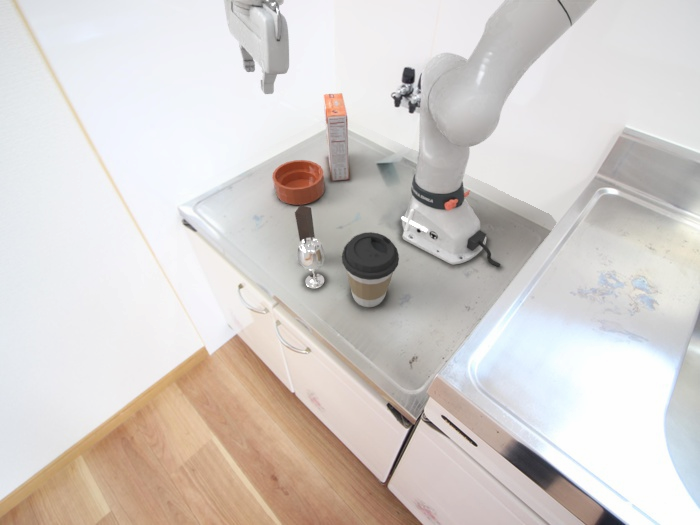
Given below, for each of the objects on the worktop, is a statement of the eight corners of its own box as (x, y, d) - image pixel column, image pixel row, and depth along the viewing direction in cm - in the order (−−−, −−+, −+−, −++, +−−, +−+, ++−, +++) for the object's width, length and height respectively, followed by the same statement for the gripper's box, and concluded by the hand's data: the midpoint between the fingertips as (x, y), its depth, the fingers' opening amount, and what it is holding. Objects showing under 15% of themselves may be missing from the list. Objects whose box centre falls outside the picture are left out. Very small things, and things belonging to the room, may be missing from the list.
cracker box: (327, 157, 115) (322, 93, 99) (345, 156, 115) (343, 92, 100) (330, 181, 106) (325, 115, 90) (349, 180, 106) (348, 113, 90)
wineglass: (299, 276, 81) (292, 240, 72) (322, 268, 82) (318, 232, 73) (307, 294, 77) (300, 258, 68) (330, 286, 79) (327, 250, 70)
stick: (317, 257, 85) (311, 207, 73) (313, 265, 83) (305, 215, 71) (307, 255, 85) (300, 204, 73) (303, 262, 84) (294, 212, 72)
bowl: (334, 192, 102) (333, 175, 98) (293, 213, 96) (290, 196, 92) (306, 171, 110) (304, 154, 105) (267, 189, 104) (263, 172, 99)
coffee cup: (404, 300, 76) (412, 254, 65) (361, 324, 72) (362, 280, 61) (374, 267, 82) (377, 221, 71) (334, 288, 78) (330, 242, 67)
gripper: (301, 6, 47) (297, 105, 58) (252, -30, 58) (255, 59, 68) (257, 3, 45) (261, 108, 55) (214, -34, 56) (223, 60, 66)
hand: (257, 81), depth 62 cm, fingers open, 8 cm apart
